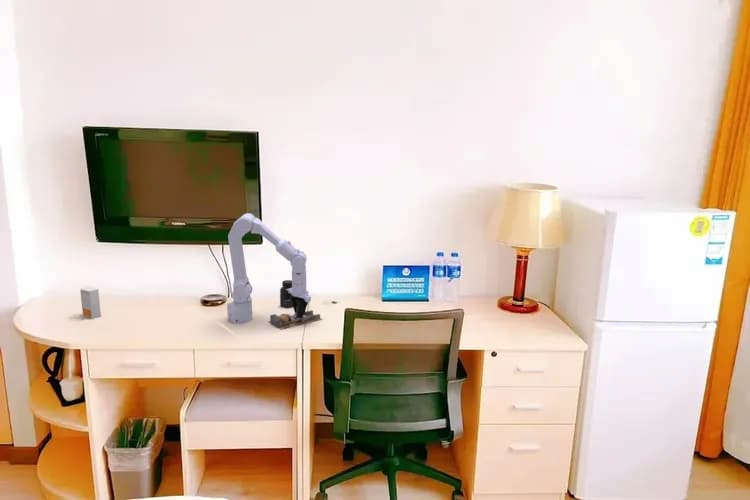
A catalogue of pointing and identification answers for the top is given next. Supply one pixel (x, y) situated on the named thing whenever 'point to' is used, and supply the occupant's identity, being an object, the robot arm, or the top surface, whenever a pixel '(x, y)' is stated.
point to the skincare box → (90, 302)
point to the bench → (310, 318)
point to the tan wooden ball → (284, 318)
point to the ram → (295, 316)
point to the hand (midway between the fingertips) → (299, 314)
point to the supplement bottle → (285, 294)
